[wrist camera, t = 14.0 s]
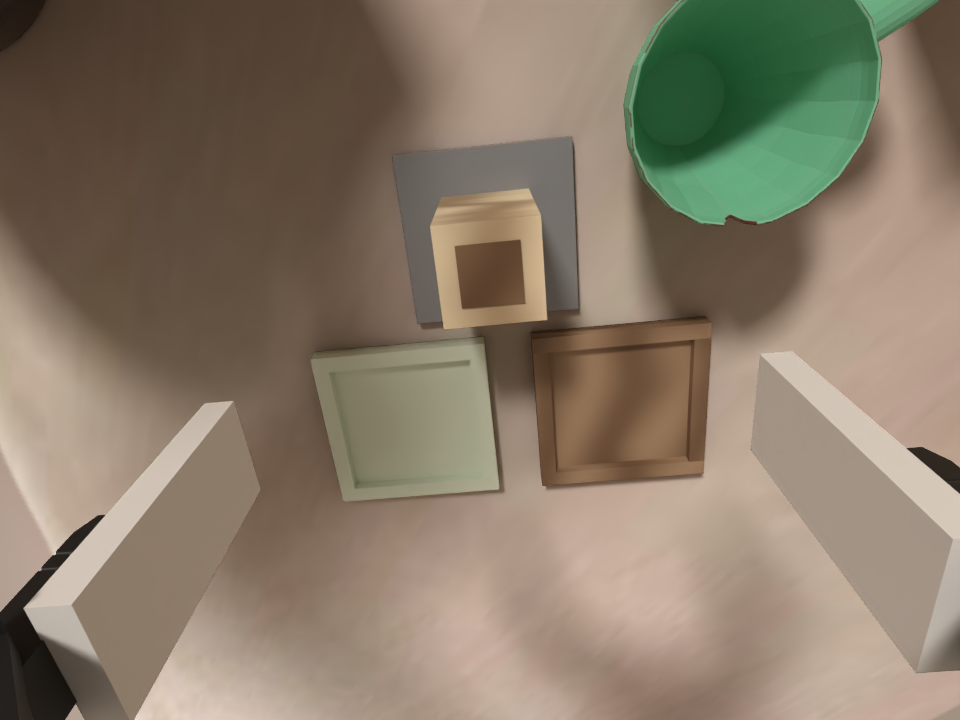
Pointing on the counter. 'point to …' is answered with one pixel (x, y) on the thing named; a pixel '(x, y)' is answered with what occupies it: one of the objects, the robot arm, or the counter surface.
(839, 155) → the mug
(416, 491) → the tray sage
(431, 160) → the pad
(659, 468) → the tray walnut
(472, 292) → the letter block
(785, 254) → the counter surface
